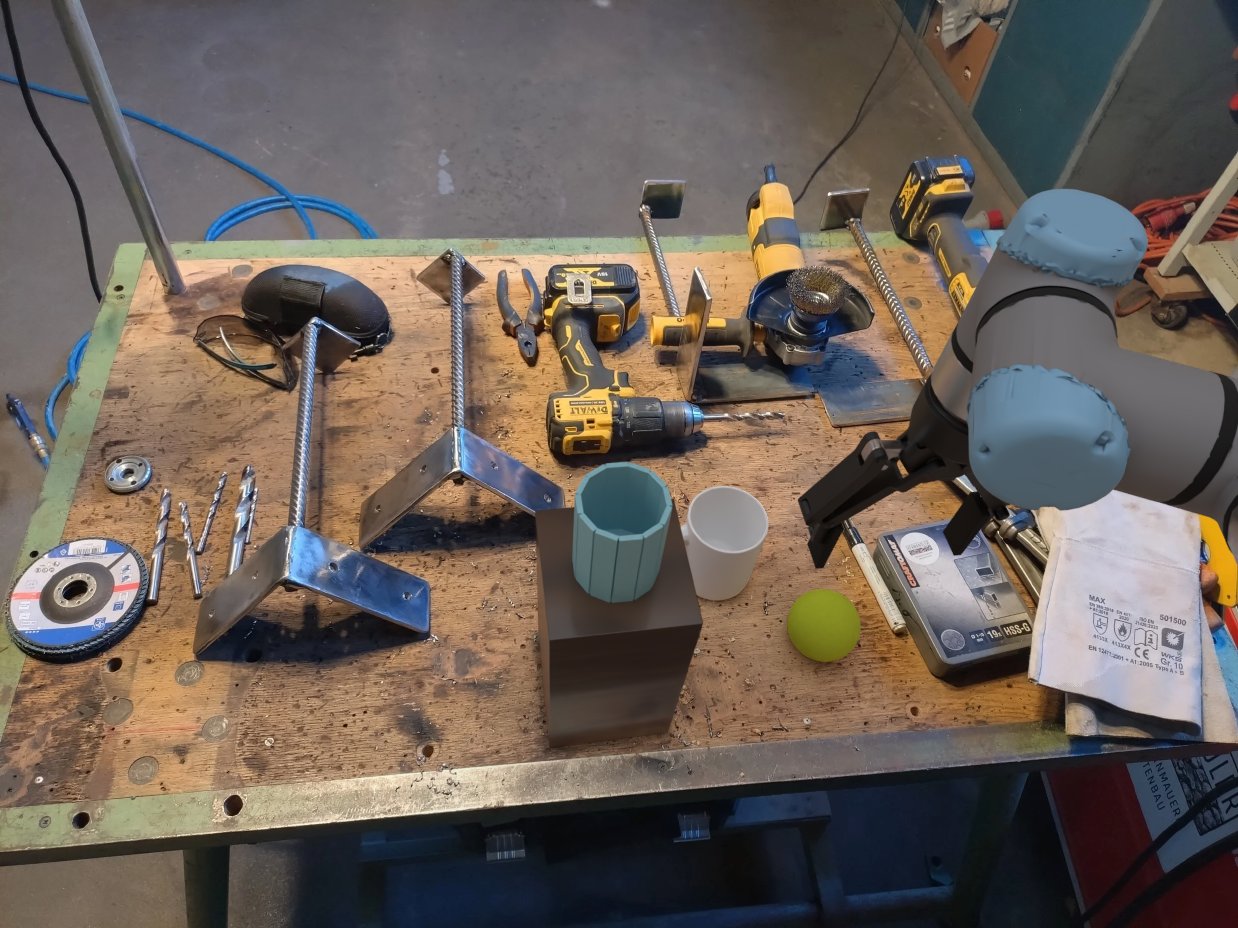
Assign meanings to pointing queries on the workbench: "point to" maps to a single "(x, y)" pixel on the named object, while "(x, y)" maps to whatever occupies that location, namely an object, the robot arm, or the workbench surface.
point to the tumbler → (620, 530)
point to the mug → (723, 540)
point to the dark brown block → (611, 642)
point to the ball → (823, 625)
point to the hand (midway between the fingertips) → (884, 549)
